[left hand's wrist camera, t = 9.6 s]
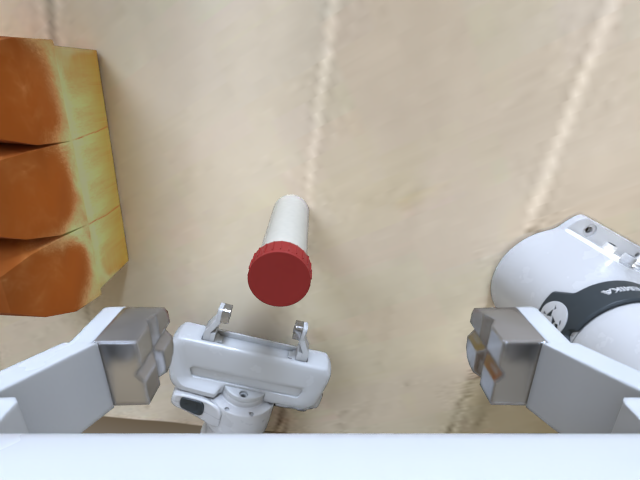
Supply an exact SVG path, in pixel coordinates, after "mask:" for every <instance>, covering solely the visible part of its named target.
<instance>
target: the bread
mask: <svg viewBox="0 0 640 480" xmlns="http://www.w3.org/2000/svg"><path fill="white" fill-rule="evenodd" d="M128 261H129V260H128V253H127V247H126V240H125V234H124V227H123V221H122V214H121V208H120V201H119V195H118V188H117V182H116V175H115V169H114V162H113V156H112V149H111V142H110V136H109V129H108V123H107V116H106V110H105V103H104V97H103V90H102V84H101V77H100V71H99V64H98V58H97V51H96V50H88V49H78V48H69V47H60V46H54V44H53V41H52V40H47V39H33V38H19V37H5V36H0V315H13V316H35V317H48V316H54V315H59V314H65V313H70V312H75V311H78V310H79V309H81V308H82V307H84V306H85V305H87V304H88V303H90V302H91V301H93V300H94V299H96V298H97V297H99V296H100V295H101V287H102V286H103V285H104V284H105V283H106V282H107V281H108V280H109V279H110V278H111V277H112V276H113V275H114V274H116V273H117V272H118V271H119V270H120V269H121V268H122V267H123V266H124V265H125V264H126V263H127V262H128Z"/></svg>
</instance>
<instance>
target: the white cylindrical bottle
mask: <svg viewBox="0 0 640 480" xmlns="http://www.w3.org/2000/svg"><path fill="white" fill-rule="evenodd" d="M308 226H309V208H308V205H307V203H306V202H305V201H304V200H303V199H302V198H301V197H299V196H297V195H285V196H282V197H281V198H279V199H278V200H277V201H276V203H275V205H274V208H273V211H272V214H271V217H270V220H269V224H268V227H267V230H266V233H265V236H264V240H263V243H262V246H264V245H266V243H267V244H268V243H270V242H273V241H286V242H291V243H293V244H295V245H298V246H299V247H300V248H301V249H302V250H304V252H305V253H306V254H307V249H308ZM262 246H261V247H262Z"/></svg>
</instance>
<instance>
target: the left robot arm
mask: <svg viewBox="0 0 640 480" xmlns="http://www.w3.org/2000/svg"><path fill="white" fill-rule="evenodd" d="M169 323H170V320H169V315H168V311H167V310H166V309H165V308H159V307H106V308H103V309H102V310H101V311H100V312H99V313H98V314H97V315H96V316H95V317H94V318H93V319H92V320H91V321H90V322H89V323H88V324H87V325H86V326H85V327H84V329H83V330H82V331H81V332H80V333H79V334H78V335H77V336H76V337H75V338H74V339H73V340H72V341H71V342H70V343H62V344H59V345H57V346H55V347H53V348H50V349H48V350H46V351H44V352H41V353H39V354H37V355H35V356H33V357H30V358H28V359H26V360H24V361H21V362H19V363H17V364H15V365H13V366H10V367H8V368H6V369H4V370H1V371H0V480H640V371H638V370H636V369H634V368H632V367H630V366H627V365H625V364H623V363H621V362H618V361H616V360H614V359H612V358H610V357H607V356H605V355H603V354H601V353H598V352H596V351H594V350H592V349H590V348H587V347H585V346H583V345H581V344H578V343H570V342H569V341H568V340H567V338H566V337H565V336H564V335H563V334H562V333H561V332H560V331H559V330H558V329H557V328H556V327H555V326H554V325H553V324H552V323H551V322H550V321H549V320H548V319H547V318H546V317H545V316H544V315H543V314H542V313H541V312H540V311H539V310H538V309H537V308H534V307H532V306H531V307H502V308H474V310H473V312H472V314H471V320H470V323H471V324H472V326H473V327H474V330H473V331H472V332H471V333H470V334H469V335H468V337H467V344H466V351H467V359H468V362H469V365H470V367H471V369H472V371H473V372H474V373H475V374H477V375H478V376H480V377H481V381H480V386H481V388H482V389H483V391H484V393H485V395H486V397H487V399H488V400H489V402H490V404H492V405H526V407H527V408H528V409H529V410H530V411H532V412H533V413H534V414H535V415H537V416H538V417H539V418H540V419H542V420H543V421H544V422H545V423H547V424H548V425H549V426H551V427H552V428H553V429H554V430H556V431H557V432H558V433H559V434H96V433H88V434H87V433H85V434H83V433H82V432H83V431H84V430H86V429H87V428H88V427H90V426H91V425H92V424H93V423H95V422H96V421H97V420H98V419H100V418H101V417H102V416H104V415H105V414H106V413H107V412H109V411H110V410H111V409H112V408H114V405H147V404H150V402H151V400H152V399H153V397H154V395H155V393H156V391H157V389H158V388H159V386H160V381H159V377H160V376H162V375H163V374H165V373H166V372H167V371H168V369H169V367H170V365H171V362H172V358H173V353H174V343H173V337H172V335H171V334H170V333H169V332H168V331H167V330H166V327H167V326H168V324H169Z"/></svg>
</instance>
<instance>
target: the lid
mask: <svg viewBox="0 0 640 480" xmlns="http://www.w3.org/2000/svg"><path fill="white" fill-rule="evenodd" d="M311 279H312V270H311V263H310V260H309V256H307V254H306V253H305V252H304V250H302V249H301V248H300V247H299V246H298V245H295V244H293V243H291V242H286V241H273V242H270V243H268V244H267V243H266V245H264V246H262V247H261V248H259V250H258V251H257V252H256V253H254V256H253V259H252V260H251V263H250V266H249V272H248V284H249V287H250V289H251V291H252V293H253V294H254V295H255V296H256V297H257V298H258V299H259V300H260V301H262V302H264V303H266V304H269V305H272V306H289V305H292V304H294V303H296V302H298V301H300V300H301V299H302V298H303V297H304V296H305V295H306V293H307V292H308V290H309V287H310V283H311Z"/></svg>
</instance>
